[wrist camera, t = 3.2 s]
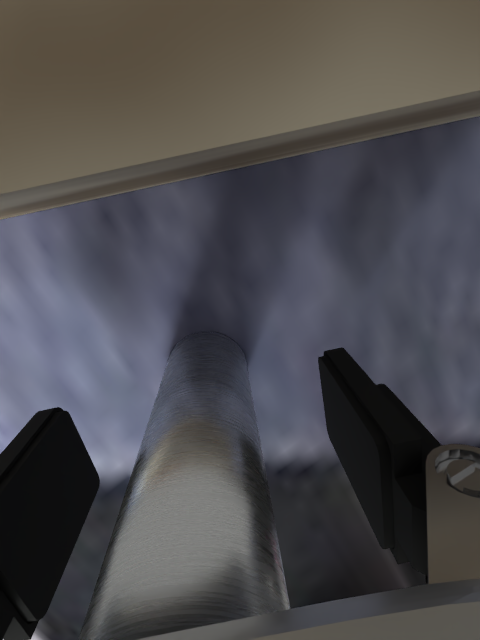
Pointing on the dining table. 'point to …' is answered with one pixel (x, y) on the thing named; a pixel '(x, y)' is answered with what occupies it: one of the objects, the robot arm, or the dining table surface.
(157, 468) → the pin
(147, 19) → the block
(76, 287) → the dining table surface
